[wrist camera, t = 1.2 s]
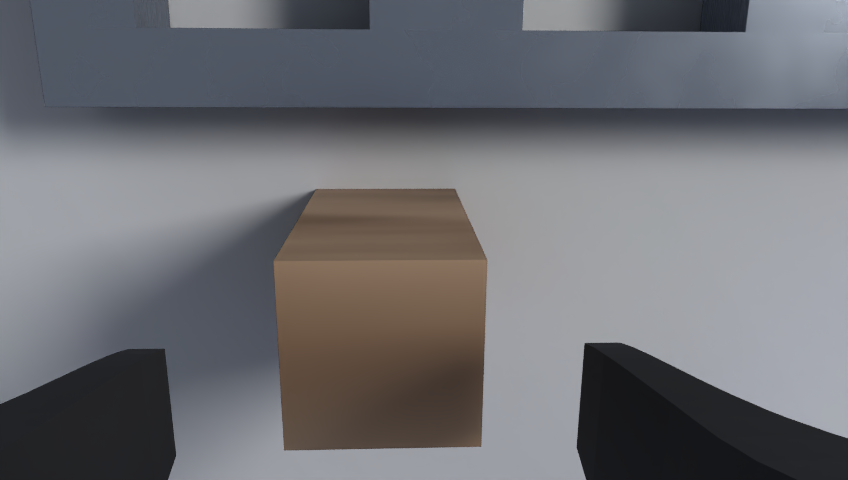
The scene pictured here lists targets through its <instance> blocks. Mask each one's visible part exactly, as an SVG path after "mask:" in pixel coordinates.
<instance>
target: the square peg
mask: <svg viewBox="0 0 848 480" xmlns="http://www.w3.org/2000/svg"><path fill="white" fill-rule="evenodd" d="M273 263H274V280H275V298H276V315H277V333H278V351H279V368H280V386H281V403H282V421H283V438H284V450H329V449H381V448H433V447H481V437H482V406H483V375H484V344H485V312H486V281H487V258H486V256H485V254H484V252H483V249H482V247H481V245H480V243H479V241H478V238H477V236H476V234H475V232H474V230H473V227H472V225H471V223H470V221H469V219H468V217H467V214H466V212H465V210H464V208H463V206H462V203H461V201H460V199H459V197H458V195H457V192H456V190H455V189H316V190H315V192H314V194H313V195H312V197H311V199H310V200H309V202H308V204H307V205H306V207H305V209H304V211H303V212H302V214H301V216H300V217H299V219H298V221H297V222H296V224H295V226H294V227H293V229H292V231H291V232H290V234H289V236H288V237H287V239H286V241H285V243H284V244H283V246H282V248H281V249H280V251H279V253H278V254H277V256H276V258H275V259H274V261H273Z"/></svg>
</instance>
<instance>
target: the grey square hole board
mask: <svg viewBox="0 0 848 480" xmlns="http://www.w3.org/2000/svg"><path fill="white" fill-rule="evenodd" d="M30 5H31V12H32V19H33V26H34V33H35V40H36V47H37V54H38V61H39V68H40V75H41V82H42V89H43V96H44V103H45V107H368V108H776V109H848V0H703V8H702V18H701V27H700V32H649V31H522V23H523V0H369V14H370V29H241V28H170V19H169V8H168V0H30Z"/></svg>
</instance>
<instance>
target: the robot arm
mask: <svg viewBox="0 0 848 480" xmlns="http://www.w3.org/2000/svg"><path fill="white" fill-rule="evenodd" d="M577 450H578V453H579V457H580V460H581V463H582V467H583V470H584V474H585V477H586V480H848V438H845V437H841V436H838V435H835V434H832V433H829V432H826V431H823V430H820V429H817V428H815V427H812V426H809V425H806V424H803V423H800V422H797V421H795V420H792V419H789V418H786V417H784V416H781V415H779V414H776V413H773V412H771V411H768V410H766V409H764V408H761V407H759V406H757V405H754V404H752V403H750V402H747V401H745V400H743V399H740V398H738V397H736V396H733V395H731V394H729V393H727V392H725V391H723V390H720V389H718V388H716V387H714V386H712V385H710V384H708V383H706V382H704V381H701V380H699V379H697V378H695V377H693V376H691V375H689V374H687V373H685V372H683V371H681V370H679V369H677V368H675V367H673V366H671V365H669V364H667V363H665V362H663V361H661V360H659V359H657V358H655V357H653V356H651V355H649V354H647V353H645V352H642V351H640V350H638V349H636V348H633V347H631V346H628V345H625V344H622V343H585V346H584V359H583V372H582V385H581V398H580V411H579V424H578V438H577ZM175 457H176V450H175V441H174V432H173V422H172V413H171V404H170V394H169V385H168V376H167V366H166V357H165V349H127V350H124V351H120V352H117V353H114V354H111V355H109V356H106V357H104V358H102V359H99V360H97V361H95V362H92V363H90V364H88V365H86V366H83V367H81V368H79V369H77V370H75V371H73V372H70V373H68V374H66V375H64V376H62V377H60V378H58V379H55V380H53V381H51V382H49V383H47V384H45V385H43V386H40V387H38V388H36V389H34V390H32V391H30V392H27V393H25V394H23V395H21V396H18V397H16V398H14V399H11V400H9V401H7V402H4V403H2V404H0V480H168V478H169V475H170V472H171V469H172V466H173V463H174V460H175Z"/></svg>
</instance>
